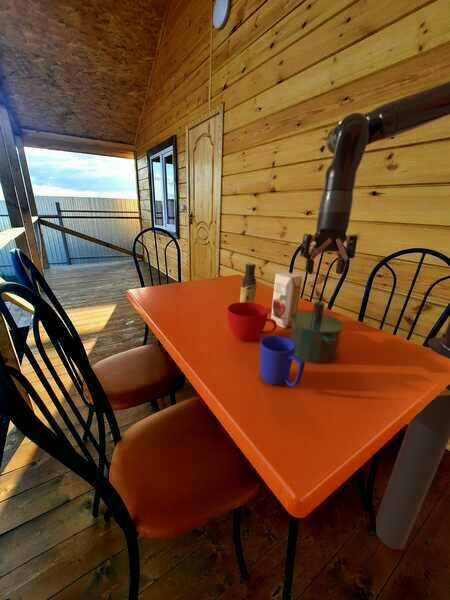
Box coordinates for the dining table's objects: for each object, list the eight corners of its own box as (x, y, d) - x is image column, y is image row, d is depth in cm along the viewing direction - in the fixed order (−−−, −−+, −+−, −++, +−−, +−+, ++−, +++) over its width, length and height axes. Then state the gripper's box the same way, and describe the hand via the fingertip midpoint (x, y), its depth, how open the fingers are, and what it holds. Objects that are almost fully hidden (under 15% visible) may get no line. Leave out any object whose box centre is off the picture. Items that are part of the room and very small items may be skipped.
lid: (326, 314, 82) (330, 294, 80) (354, 334, 69) (359, 312, 66) (283, 315, 80) (285, 295, 78) (302, 336, 67) (306, 313, 65)
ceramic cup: (263, 355, 74) (266, 324, 71) (218, 337, 83) (219, 309, 80) (282, 339, 84) (286, 311, 80) (240, 325, 93) (241, 299, 90)
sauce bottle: (245, 314, 103) (248, 266, 97) (236, 309, 108) (238, 263, 101) (257, 311, 107) (261, 264, 100) (247, 306, 112) (250, 261, 105)
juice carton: (281, 317, 101) (286, 270, 95) (298, 325, 95) (305, 275, 88) (267, 321, 97) (272, 273, 91) (285, 330, 90) (291, 278, 84)
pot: (318, 335, 87) (322, 309, 84) (350, 367, 69) (357, 336, 66) (279, 336, 85) (282, 310, 82) (303, 370, 68) (308, 338, 65)
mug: (285, 403, 55) (291, 364, 52) (250, 375, 65) (253, 340, 62) (310, 390, 60) (316, 353, 57) (274, 365, 69) (278, 332, 66)
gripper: (314, 210, 60) (305, 277, 65) (370, 211, 62) (356, 277, 67) (301, 210, 67) (294, 270, 72) (351, 211, 69) (340, 270, 74)
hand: (324, 273), depth 69 cm, fingers open, 8 cm apart
